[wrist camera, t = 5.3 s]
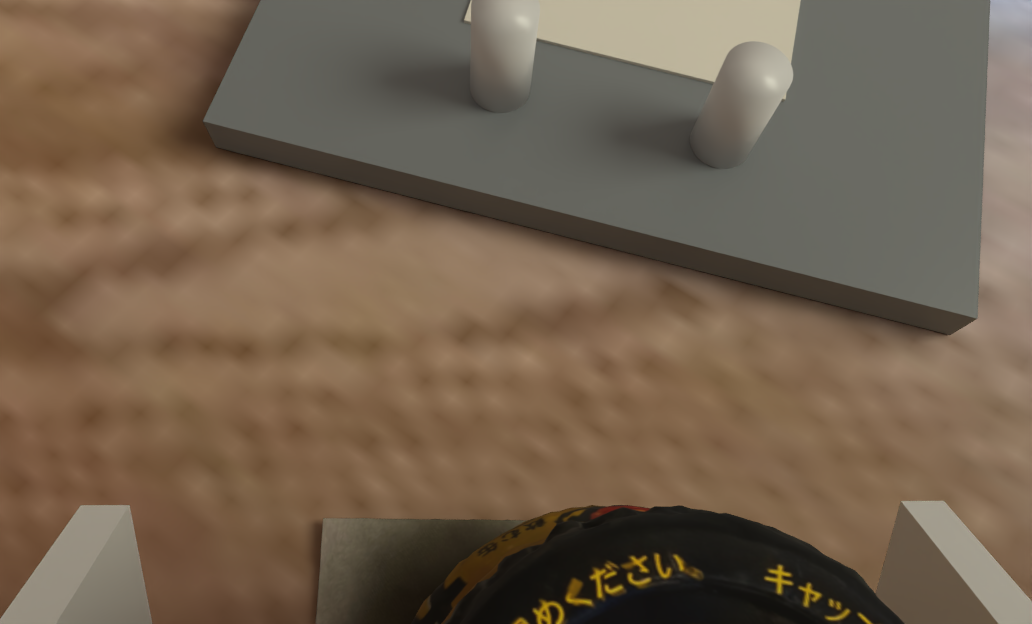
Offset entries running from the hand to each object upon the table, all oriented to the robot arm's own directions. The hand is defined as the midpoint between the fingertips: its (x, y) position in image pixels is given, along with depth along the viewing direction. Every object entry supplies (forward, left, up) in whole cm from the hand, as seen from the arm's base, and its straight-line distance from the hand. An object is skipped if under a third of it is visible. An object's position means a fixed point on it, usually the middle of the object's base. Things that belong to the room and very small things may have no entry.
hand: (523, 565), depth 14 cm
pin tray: (0, -18, -5) cm, 18 cm away
